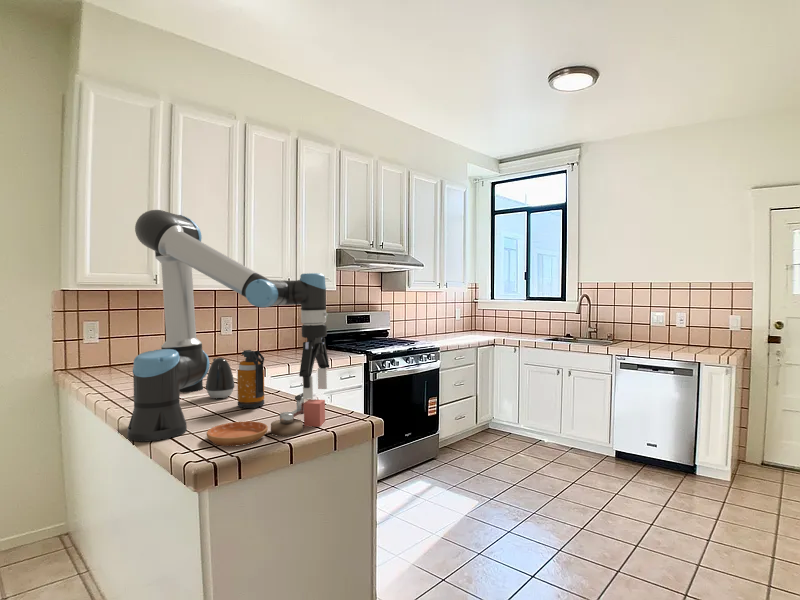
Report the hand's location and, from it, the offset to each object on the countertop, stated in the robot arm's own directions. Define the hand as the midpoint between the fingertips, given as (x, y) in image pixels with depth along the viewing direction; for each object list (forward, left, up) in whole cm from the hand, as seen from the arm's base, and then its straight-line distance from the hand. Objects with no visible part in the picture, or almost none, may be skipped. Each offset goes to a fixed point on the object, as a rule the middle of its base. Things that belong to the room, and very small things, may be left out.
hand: (315, 393), depth 144 cm
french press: (-67, +40, -10) cm, 79 cm away
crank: (-5, -5, -6) cm, 10 cm away
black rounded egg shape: (-48, +29, -10) cm, 57 cm away
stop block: (0, 0, -9) cm, 9 cm away
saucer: (-17, -17, -10) cm, 26 cm away
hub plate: (-6, -9, -9) cm, 14 cm away
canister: (-29, +17, -10) cm, 35 cm away
